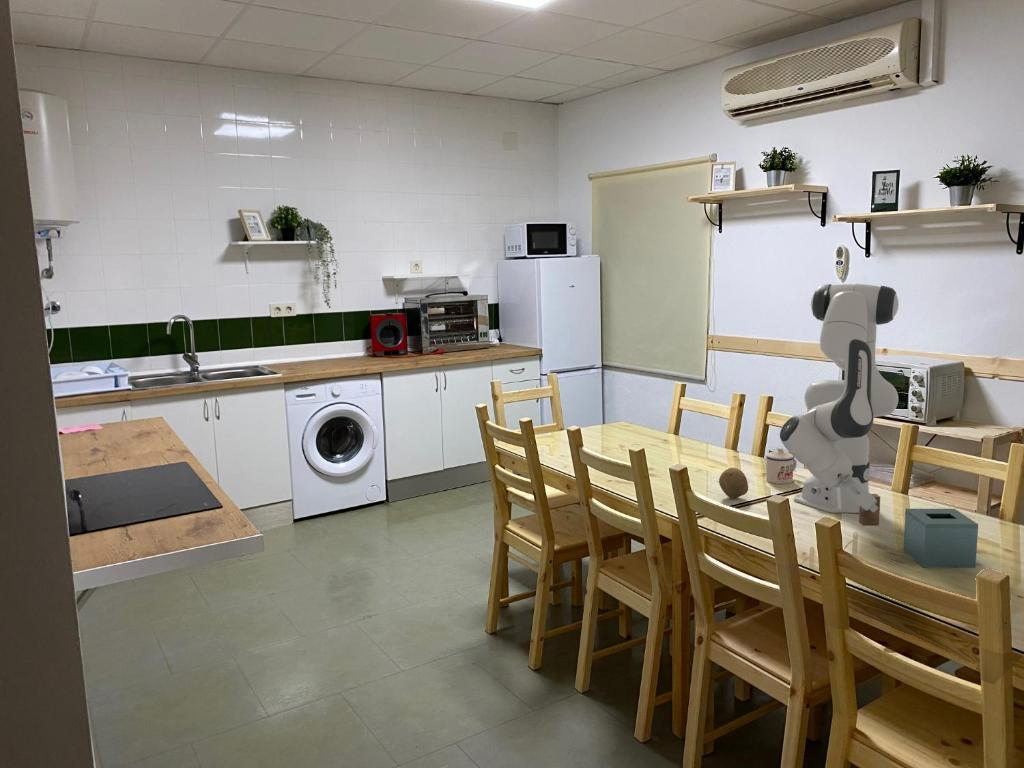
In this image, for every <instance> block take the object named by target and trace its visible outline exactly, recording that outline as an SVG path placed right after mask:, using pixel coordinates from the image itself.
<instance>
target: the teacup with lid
mask: <svg viewBox="0 0 1024 768" xmlns="http://www.w3.org/2000/svg"><path fill="white" fill-rule="evenodd" d="M783 449H784V448H783V447H777V448H776V449H775V450H776V451H773V452H771V453H769V452H768V453H767V454H765V458H766V473H765V475H766V476H765V478H766V479H765V480H766V481H767V482H768V483H771V484H775V485H776V484H777V485H789V484H792V483H793V481H794V480H793V478H794V471H795V470H796V468H797V463H798V462H797V459H796V458H795V457H794V456H793V455H792V454H790V453H787V452H786V451H787V450H786V451H783Z"/></svg>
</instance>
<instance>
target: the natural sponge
mask: <svg viewBox="0 0 1024 768" xmlns="http://www.w3.org/2000/svg"><path fill="white" fill-rule="evenodd" d="M718 484H719V487H720V488H721V490H722V492H723V493H724V494H725V496H727V497H728V498H729V499H731V498H733V499H735V498H736V499H738V498H740V497H742V496H744V495H746V494H747V493H748V491H749V482H748V480H747V477H746V474H745V473H744V472H743V471H742V470H740V469H739V468H738V467H737V468H736V467H730V468H727V469H725V470H724V471H723V472H722V473H721V474H720V476H719V478H718ZM733 499H732V500H733Z"/></svg>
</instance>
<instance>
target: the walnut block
mask: <svg viewBox="0 0 1024 768" xmlns="http://www.w3.org/2000/svg"><path fill="white" fill-rule="evenodd" d="M870 494H871V495H872V496H873V497H874V498H875V499H876V500H877V503H876V504H875V505H876V506H877V507H878V509H877V510H876V511H875V512H872V511H871V510H870V509H869V510H868V511H866V510H865V509H863V508H862V507H861V506H860V508H859V513H858V523H859V524H860V525H861V526H862V527H863V526H864V527H865V526H866V527H867V526H868V527H869V526H870V527H871V526H872V527H873V526H874V527H875V526H876V527H879V526H880V514H881V496H880V495H879V494H878V493H870Z"/></svg>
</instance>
